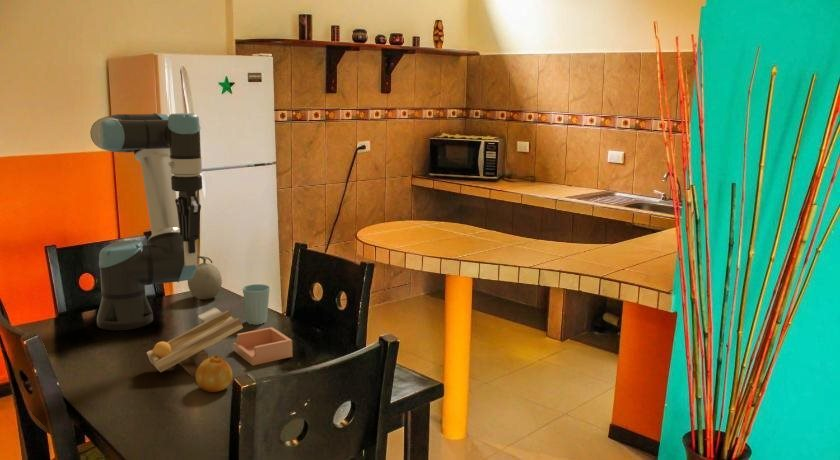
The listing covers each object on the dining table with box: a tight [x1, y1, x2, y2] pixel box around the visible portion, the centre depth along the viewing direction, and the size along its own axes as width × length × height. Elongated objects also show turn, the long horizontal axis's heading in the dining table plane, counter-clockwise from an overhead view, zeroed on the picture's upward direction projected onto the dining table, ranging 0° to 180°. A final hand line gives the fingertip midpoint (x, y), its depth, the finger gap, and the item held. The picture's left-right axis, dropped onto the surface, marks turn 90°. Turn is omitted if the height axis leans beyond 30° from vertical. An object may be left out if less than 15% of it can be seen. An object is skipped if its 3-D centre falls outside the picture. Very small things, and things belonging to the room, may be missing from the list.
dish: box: [233, 326, 293, 367], centre depth 192 cm, size 12×11×4 cm
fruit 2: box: [194, 354, 233, 393], centre depth 170 cm, size 8×8×8 cm
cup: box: [242, 283, 270, 326], centre depth 216 cm, size 8×8×10 cm
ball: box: [153, 341, 171, 358], centre depth 178 cm, size 4×4×4 cm
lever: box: [146, 306, 244, 373], centre depth 186 cm, size 17×22×3 cm
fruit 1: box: [187, 255, 223, 300], centre depth 238 cm, size 10×12×15 cm
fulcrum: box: [177, 349, 210, 377], centre depth 184 cm, size 12×7×5 cm, turn 36°
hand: (190, 264), depth 194 cm, fingers closed
